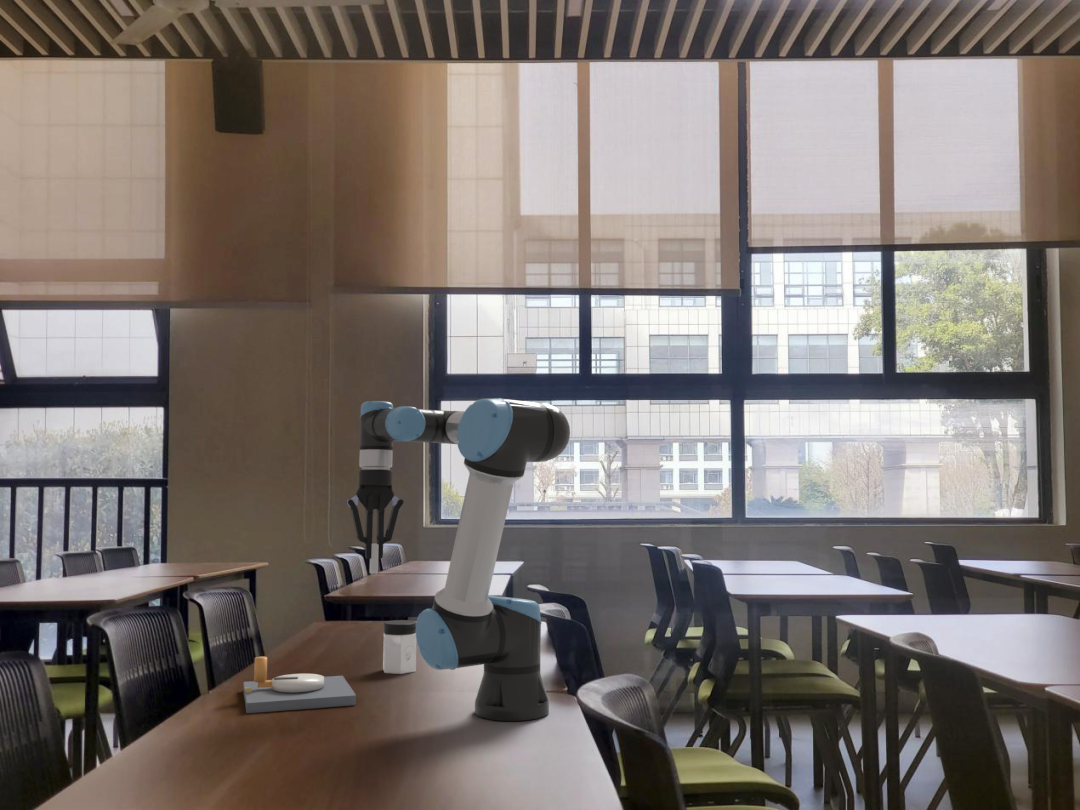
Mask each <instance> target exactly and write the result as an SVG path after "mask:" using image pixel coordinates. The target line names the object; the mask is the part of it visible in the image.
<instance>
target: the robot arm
mask: <svg viewBox="0 0 1080 810" xmlns="http://www.w3.org/2000/svg"><path fill="white" fill-rule="evenodd" d="M570 436H571V427H570V423H569V421H568V419H567V417H566V415H565V414H564V413H563V411H561V409H559V408H558V407H556V406H554V405H552V404H550V403H547V402H540V401H525V400H519V399H518V400H517V399H510V398H509V399H508V398H501V397H496V398H481V399H480V398H479V399H477V400H476V401H474V402H473V403H472V404H470V405H469V406H468V407H466V409H465V411H464V410H463V411H462V410H443V409H442V410H440V409H439V410H438V409H437V410H436V409H425V408H424V409H423V408H417V407H415V406H407V405H406V406H405V405H401V406H400V405H399V406H398V407H394V405H393V403H392V402H390V401H383V400H372V401H370V400H369V401H365V402H363V403H362V404H361V405H360V415H359V460H358V461H359V464H358V466H359V468H361V469H360V470H359V472H358V487H357V491H356V494H355V495H354V496H353V497H351V498H350V499H346V504H347V506H348V507H349V509H350V511H351V515H352V516H351V517H352V521H353V524H354V525H353V526H354V529H355V530H354V531H355V534H356V539H357V541H358V542H360V543H363V544H364V547H365V549H364V551H365V552H364V553H365V555H364V557H365V558H366V559H368V560H369V574H371V575H375V574H377V575H378V574H379V559H383V557H384V544H385V543H388V542H390V541H392V538H393V535H394V530H395V527H396V522H397V518H398V515H399V511H400V509H401V507H402V506H403V505H404V500H403V499H401V498H399V497H397V496H395V492H394V490H393V471H392V467H393V450H394V449H393V448H394V447H393V446H394V443H395V442H405V443H406V442H409V443H431V444H432V443H435V444H448V445H449V444H450V445H457V448H458V451H459V453H460V454H461V456H463V458H464V460H463V465H464V467H465V468H466V469H467V471H468V473H469V474H468V480H467V484H466V488H465V492H464V497H463V503H462V507H461V511H460V512H461V513H460V515H459V516H460V517H459V520H458V525H457V530H456V535H455V539H454V544H453V548H452V554H451V558H450V560H449V561H450V562H449V567H448V571H447V576H446V579H445V585H444V588H442V589H440V590H439V591H437V592H436V593H435V595H434V599H433V603H432V604H433V605H432V607H431V608H426V609H424V610H422V611H421V612H420V613H419V614H418V616H417V618H416V621H415V622H416V645H417V646H418V650H419V654H420V655H421V657H422V660H424V661H425V663H426V665H428V666H429V667H430V668H431V669H434V670H438V671H441V670H451V671H454V670H456V669H460V668H466V667H467V668H469V667H474V666H480V665H483V673H482V674H483V675H482V679H481V681H480V685H479V688H478V690H477V693H476V697H475V701H474V714H475V715H476V716H477V717H479V718H483V719H487V720H493V721H499V722H500V721H502V722H503V721H504V722H520V721H522V722H523V721H530V720H531V721H532V720H537V719H540V718H543V717H546V716H547V715H548V714H549V713H550V702H549V698H548V694H547V691H546V687H545V685H544V682H543V678H542V674H541V640H542V637H541V634H542V633H541V631H542V629H541V628H542V627H541V626H542V620H541V608H540V605H539V604H538V602H537V601H535V600H532V599H525V598H519V597H518V598H517V597H507V596H498V595H497V596H496V595H489V593H490V589H491V585H492V580H493V577H494V572H495V568H496V567H495V566H496V563H497V558H498V553H499V550H500V545H501V541H502V537H503V532H504V527H505V522H506V519H507V515H508V510H509V505H510V501H511V496H512V492H513V487H514V483H515V482H516V481H518V480H520V479H522V478H523V477H524V475H525V470H526V467H527V463H540V462H542V463H543V462H548V461H551V460H553V459H555V458H558V456H560V455H561V454H562V453H563V452H564V450H565V449H566V448H567V446H568V444H569V441H570V438H571V437H570ZM390 468H391V469H390ZM359 502H360V503H361V505H362V507H364V508H365V534H364V532H363V528H362V527H363V526H362V522H361V518H360V514H359V508H358V506H359ZM390 502H391V506H392V508H391V511H390V514H389V515H390V516H389V518H388V522H387V526H386V530H385V527H384V526H385V513H386V512H385V510H386V508H387V506H388V505H389V504H390ZM374 510H376V543H373V526H374V525H373V524H374V523H373V522H374V521H373V520H374V518H373V517H374V515H373V514H374ZM384 531H385V533H384Z"/></svg>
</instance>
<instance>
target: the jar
mask: <svg viewBox="0 0 1080 810" xmlns="http://www.w3.org/2000/svg"><path fill="white" fill-rule="evenodd" d="M416 622H417V621H415V620H408V619H407V620H405V619H399V620H398V619H395V620H388V621H384V622H383V640H382V641H383V644H382V645H383V648H382V651H383V652H382V670H383V673H384V674H392V675H394V674H395V675H403V674H409V673H415V672H416V671H417V639H416Z"/></svg>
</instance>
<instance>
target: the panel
mask: <svg viewBox="0 0 1080 810" xmlns="http://www.w3.org/2000/svg"><path fill="white" fill-rule="evenodd" d="M242 684H243V690H242V692H243V697H244V698H243V700H244V707H245V712H246V714H253V713H254V714H255V713H268V712H270V713H271V712H282V711H294V710H295V711H296V710H307V709H308V710H309V709H321V708H322V709H324V708H333V707H345V706H346V707H350V706H356V705H357V695H356V693H355V691H354V690H353V689H352V687H351V685H350V684H349V683H348V681H347V680H346V678H345V677H344V676H343V675H333V676H324V687H323V688H321V689H318V690H314V691H307V692H278V691H274V690H272V687H262V688H258V682H254V680H253V681H243V683H242Z"/></svg>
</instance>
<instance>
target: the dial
mask: <svg viewBox="0 0 1080 810" xmlns="http://www.w3.org/2000/svg"><path fill="white" fill-rule="evenodd" d="M253 670H254V671H253V681H254V682H258V688H262V687H272V690H274V691H278V692H307V691H314V690H318V689H321V688H323V687H324V677H325V676H324V675H321V674H318V673H291V674H283V675H279V676H276V677H273V678H272V679H267V678H268V677H267V676H268V673H267V672H268V657H267V656H256V657H254V668H253Z"/></svg>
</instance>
